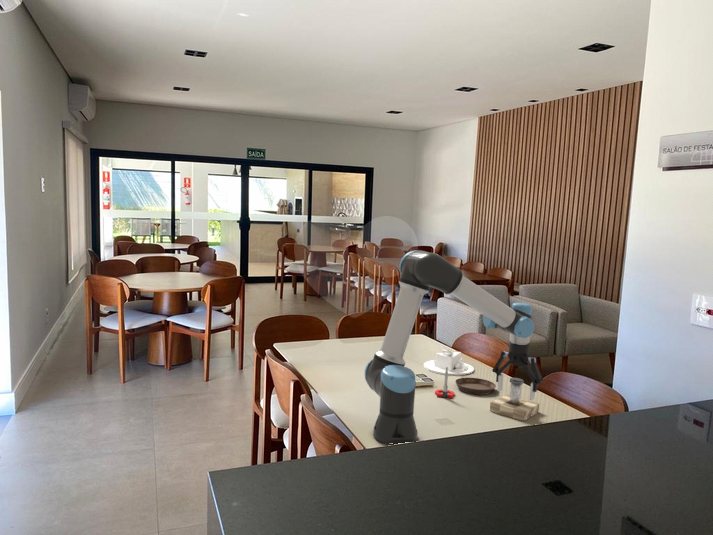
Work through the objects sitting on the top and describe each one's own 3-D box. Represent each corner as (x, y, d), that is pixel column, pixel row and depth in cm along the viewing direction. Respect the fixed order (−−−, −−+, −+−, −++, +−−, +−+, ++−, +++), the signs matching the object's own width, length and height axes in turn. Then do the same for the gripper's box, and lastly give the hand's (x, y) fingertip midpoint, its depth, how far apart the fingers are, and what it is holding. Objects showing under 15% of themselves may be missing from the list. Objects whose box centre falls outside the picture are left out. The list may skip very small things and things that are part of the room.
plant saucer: (466, 380, 251) (467, 374, 251) (502, 389, 240) (502, 383, 240) (447, 389, 238) (448, 382, 237) (484, 399, 227) (484, 392, 226)
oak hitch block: (523, 421, 203) (523, 412, 203) (489, 410, 212) (490, 402, 212) (538, 412, 213) (539, 403, 213) (506, 402, 223) (506, 394, 222)
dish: (451, 379, 253) (452, 356, 252) (413, 366, 272) (414, 344, 271) (483, 371, 269) (485, 349, 268) (445, 359, 288) (447, 339, 287)
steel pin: (517, 415, 209) (519, 382, 208) (505, 411, 213) (507, 379, 211) (523, 411, 213) (525, 380, 212) (511, 408, 216) (513, 376, 215)
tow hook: (434, 391, 235) (434, 397, 226) (436, 362, 234) (436, 366, 225) (454, 393, 234) (454, 399, 225) (456, 363, 233) (457, 368, 224)
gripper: (554, 347, 204) (550, 401, 207) (495, 335, 221) (491, 385, 223) (546, 350, 199) (542, 405, 201) (486, 337, 216) (482, 389, 218)
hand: (515, 394), depth 212 cm, fingers open, 13 cm apart
